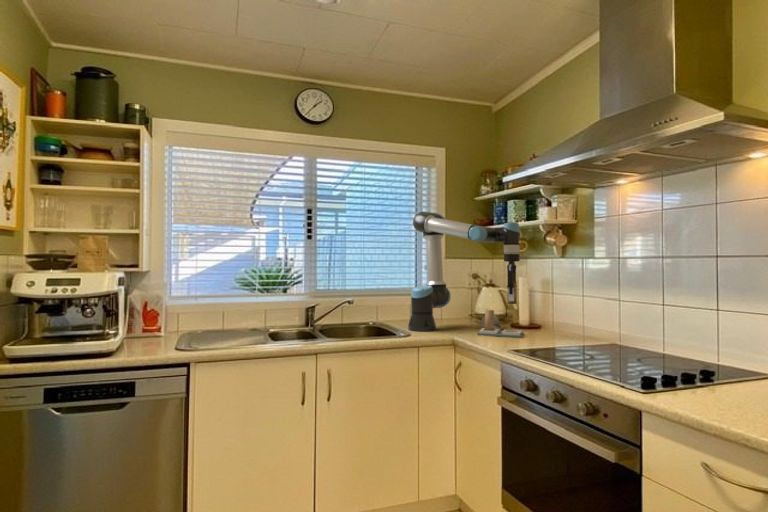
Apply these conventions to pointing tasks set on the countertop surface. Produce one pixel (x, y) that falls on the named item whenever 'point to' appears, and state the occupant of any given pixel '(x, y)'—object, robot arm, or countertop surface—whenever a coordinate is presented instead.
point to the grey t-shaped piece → (491, 331)
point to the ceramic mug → (496, 323)
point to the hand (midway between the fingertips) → (511, 300)
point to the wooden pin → (514, 294)
